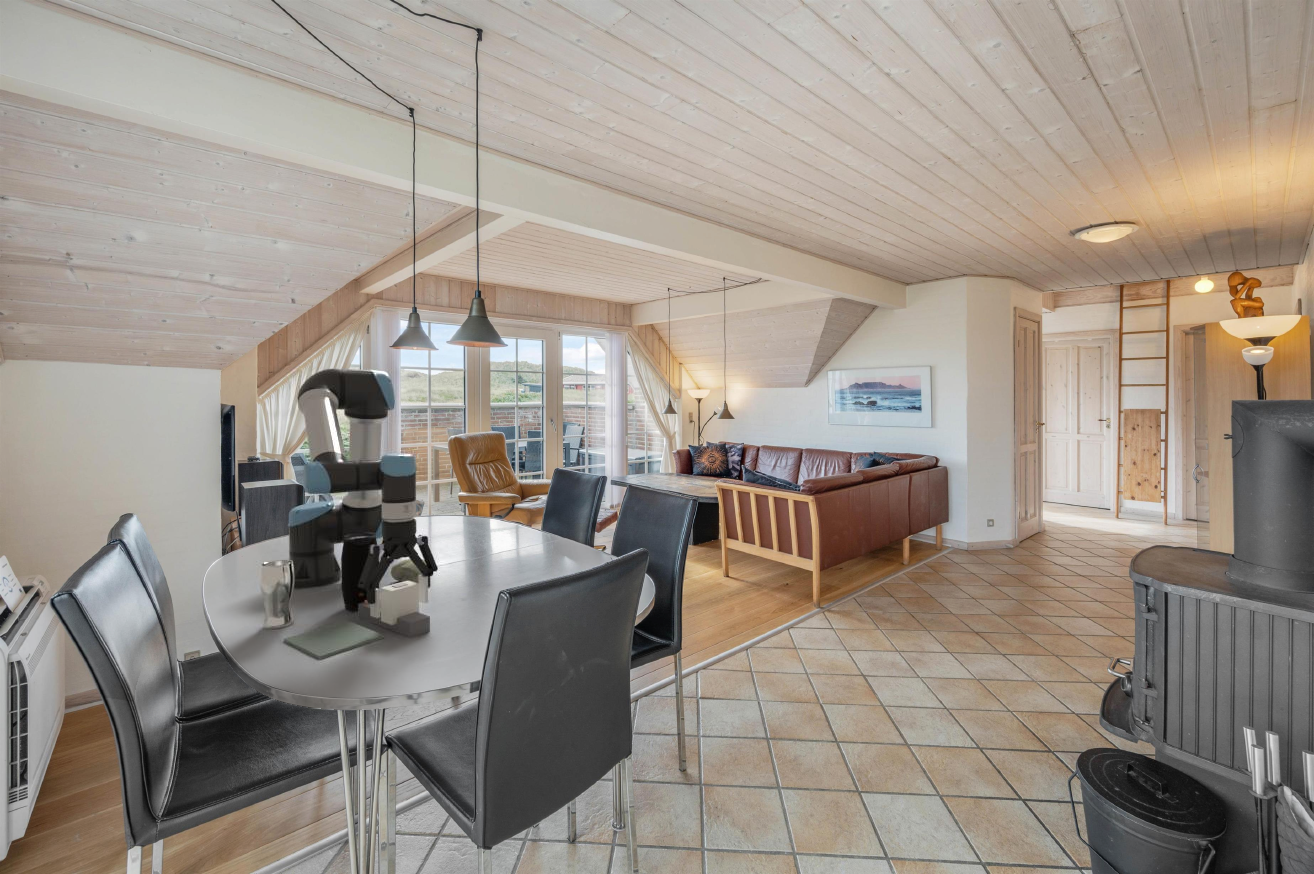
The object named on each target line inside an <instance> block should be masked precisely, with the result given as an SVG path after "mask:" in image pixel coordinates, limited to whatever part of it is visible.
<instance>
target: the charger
mask: <svg viewBox="0 0 1314 874" xmlns="http://www.w3.org/2000/svg"><path fill="white" fill-rule="evenodd" d="M380 600H381V621H383V622H385V623H388V624H390V625H394V624H397V618H399V617H402V616H405V615H408V614H411V613H414V612H419V613H420V602H419V584H418V583H415V582H411V581H404V582H403V581H399V582H398V583H393V584H389V585H384V586H382V587H380Z"/></svg>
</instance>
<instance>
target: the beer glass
mask: <svg viewBox="0 0 1314 874" xmlns="http://www.w3.org/2000/svg"><path fill="white" fill-rule="evenodd" d="M259 575H260V576H259V587H260V589H259V590H260V594H261V597H262V598H261V599H262V602H263V607H264V620H263V623H262V625H263V626H262V627H263V629H267V630H277V629H282V628H286V627H288V626H291V625H292V624H294V617H293V613H292V603H293V595H294V591H295V588H294V584H295V575H294V565H293V560H289V559H284V558H283V559H275V560H269V561H266V562H262V563H261V564H260V572H259Z"/></svg>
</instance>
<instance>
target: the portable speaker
mask: <svg viewBox="0 0 1314 874" xmlns="http://www.w3.org/2000/svg"><path fill="white" fill-rule="evenodd" d="M377 541H378V540H377V539H376V534H375V533H372V532H366V533H364V534H357V535H352V534H348V535H345V536H344V542H343V543H342V551H341V558H340V569H341V578H340V580H341V593H342V599H343V603H344V610H345V611H347V612H355V609H358V604H359V603H363V602H365V600H367V590H365V589H362V588H359V587H358V583H359V580H360V577H361V575H362V572H363V569H364V566H365V563H366V561H367V558H368V555H369V545H371V544H373V545H378V542H377ZM379 562H380V558H379V559H378V562H377V565H378V564H379ZM377 565H376V567H377ZM375 569H376V568H375ZM380 583H381V582H380ZM380 583H379V584H378V586H377V589H380Z"/></svg>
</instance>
